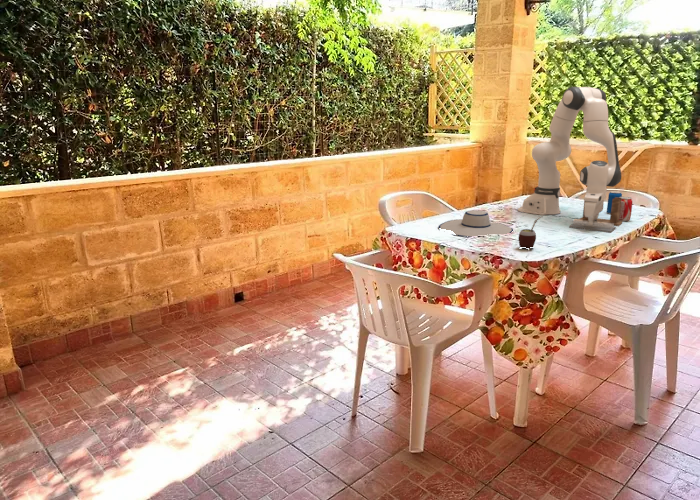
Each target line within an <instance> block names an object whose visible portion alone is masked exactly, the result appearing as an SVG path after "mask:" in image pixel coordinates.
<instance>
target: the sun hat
mask: <svg viewBox="0 0 700 500" xmlns="http://www.w3.org/2000/svg"><path fill="white" fill-rule="evenodd" d="M489 215H490V214H489V213H488V212H487V211H484V210H478V209H473V210H467V211H465V212H464V214H463V216H462V219H461V218H460V219H459V218H458V219H450V220H447V221H445V222H442V223H441V224H438V229H439V228H441V229H446V230H451V231H453V232H454V233H455V234H456V235H459V236H458V237H463V236H468V237H467V238H469V237H472V236H478V235H487V234H488V235H489V234H507V233H511V232H512V231H513V229H514V228H512V227H510V226H508V225H506V224H504V223H501V222H491V221H490V216H489ZM513 232H514V231H513ZM511 234H512V233H511Z"/></svg>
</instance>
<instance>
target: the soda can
mask: <svg viewBox="0 0 700 500" xmlns="http://www.w3.org/2000/svg"><path fill="white" fill-rule="evenodd" d="M619 198H622V200H621V208H620V216H619V221H623V222H622V223H624V222H625V223H626V222H629V221H630V220H631V216H632V209H633V198H632V197H630V196H622V197H619Z"/></svg>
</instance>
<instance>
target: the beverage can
mask: <svg viewBox="0 0 700 500" xmlns="http://www.w3.org/2000/svg"><path fill="white" fill-rule="evenodd" d="M615 197H618V198H619V197H623V194H622V192H621V191H618V190H610V191H609V193H608V198H607V205H606V206H607V207H606V213H607V214H608V215H611V208H612V200H613V199H615Z"/></svg>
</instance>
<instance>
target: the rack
mask: <svg viewBox="0 0 700 500" xmlns="http://www.w3.org/2000/svg"><path fill="white" fill-rule="evenodd" d="M621 200H622V198H618V197H615V199H613V200H612V208H611V214H610V218H608V219H607V218H599V217H598V219H597V221H598V222H607V223H614V227H620V226H621V225H622V224H623V223H624V222H623V221H619V216H620V208H621ZM583 201H584V200H583ZM584 208H585V201H584V202H583V211H582V216H581V217H580V218H579V219H580V220H588V217H585V215H584Z"/></svg>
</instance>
